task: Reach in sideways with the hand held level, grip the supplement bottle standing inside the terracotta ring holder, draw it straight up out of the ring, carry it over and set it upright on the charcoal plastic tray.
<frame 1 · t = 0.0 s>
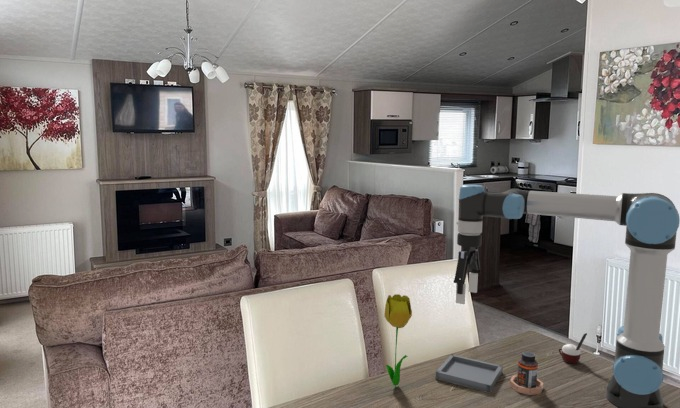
hand: (466, 297, 168), 28 cm above the table, tool pointing down, fingers open, 13 cm apart
flower: (395, 387, 166), on the table
cocoa: (570, 362, 186), on the table
tray: (469, 375, 174), on the table
supplement bottle: (526, 387, 167), resting in holder ring
holder ring: (526, 387, 167), on the table
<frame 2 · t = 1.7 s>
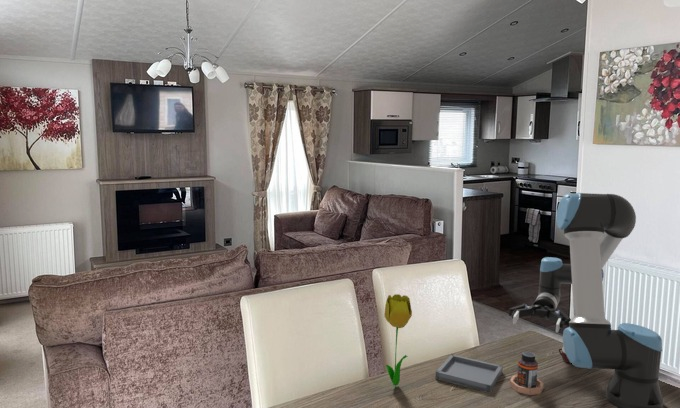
hand: (535, 324, 172), 18 cm above the table, tool horizontal, fingers open, 13 cm apart
nothing on the table moved.
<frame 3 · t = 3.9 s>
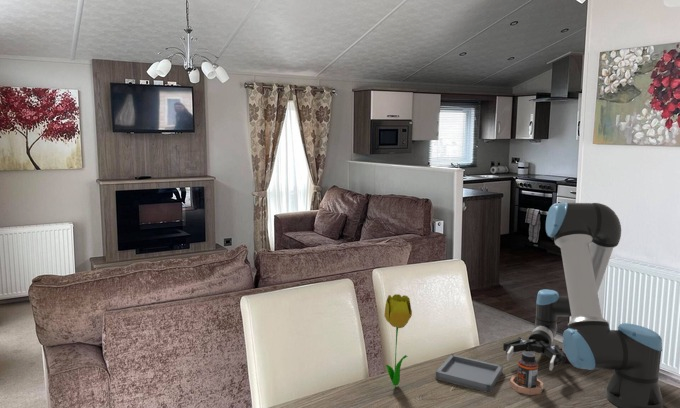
hand: (528, 361, 171), 6 cm above the table, tool horizontal, fingers open, 13 cm apart
nothing on the table moved.
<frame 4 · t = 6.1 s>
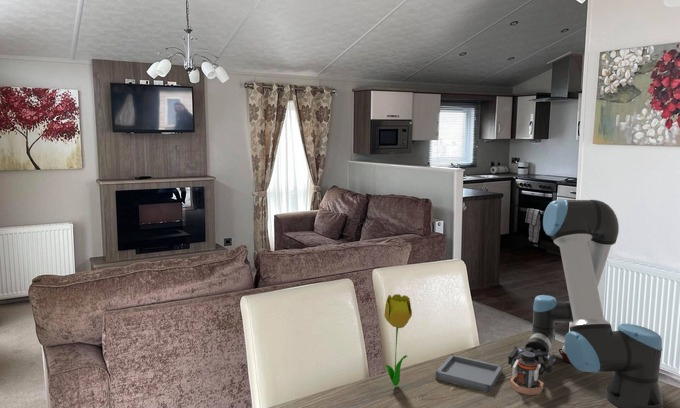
hand: (524, 373, 161), 7 cm above the table, tool horizontal, fingers closed on supplement bottle, 6 cm apart
supplement bottle: (526, 387, 167), resting in holder ring, touching gripper
everything else where it was.
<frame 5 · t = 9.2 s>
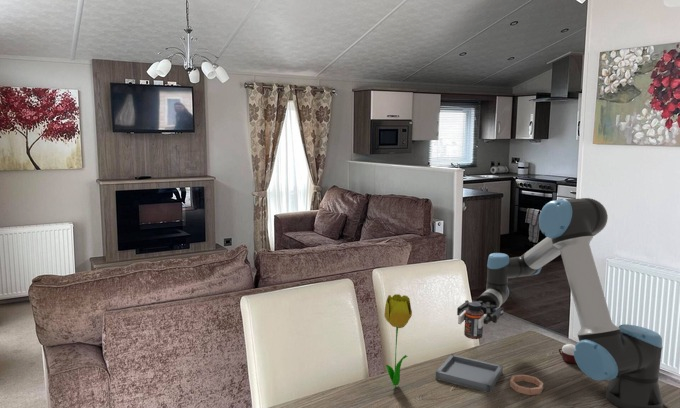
hand: (469, 322, 167), 20 cm above the table, tool horizontal, fingers closed on supplement bottle, 6 cm apart
supplement bottle: (473, 336, 173), point 14 cm above the table, touching gripper
everything else where it was.
when the fingers open (9 cm above the table, at t = 12.1 s): supplement bottle drops 2 cm, resting on tray.
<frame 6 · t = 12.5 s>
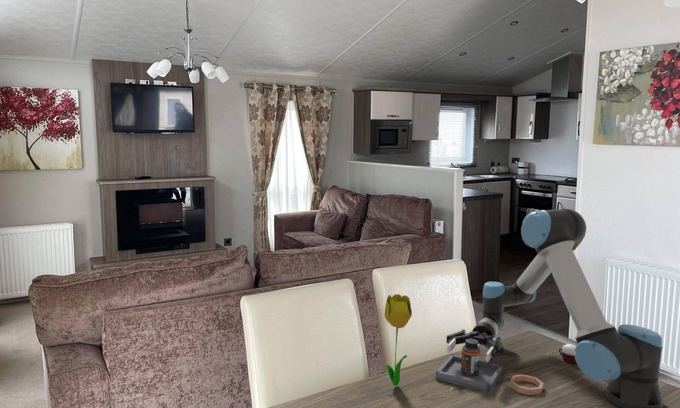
hand: (467, 353, 170), 9 cm above the table, tool horizontal, fingers open, 12 cm apart
supplement bottle: (469, 373, 174), point 1 cm above the table, touching tray
everything else where it was.
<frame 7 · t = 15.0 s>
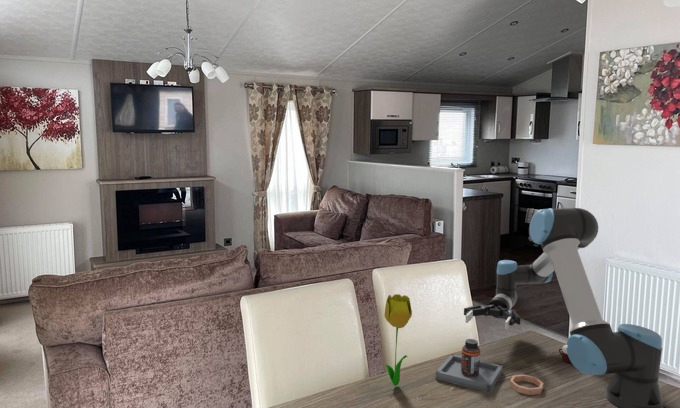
hand: (485, 322, 181), 15 cm above the table, tool horizontal, fingers open, 13 cm apart
nothing on the table moved.
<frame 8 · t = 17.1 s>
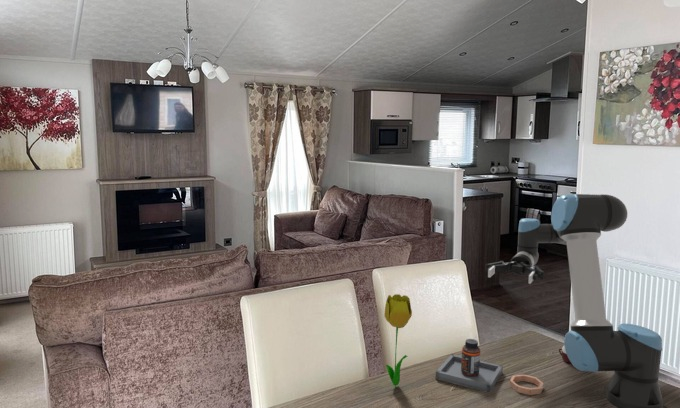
hand: (509, 276, 178), 32 cm above the table, tool horizontal, fingers open, 13 cm apart
nothing on the table moved.
at the end: supplement bottle inside the target area on the tray (0.1 cm from its centre), point 0.8 cm above the tray's base; supplement bottle tilted 0°; the gripper is holding nothing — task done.
